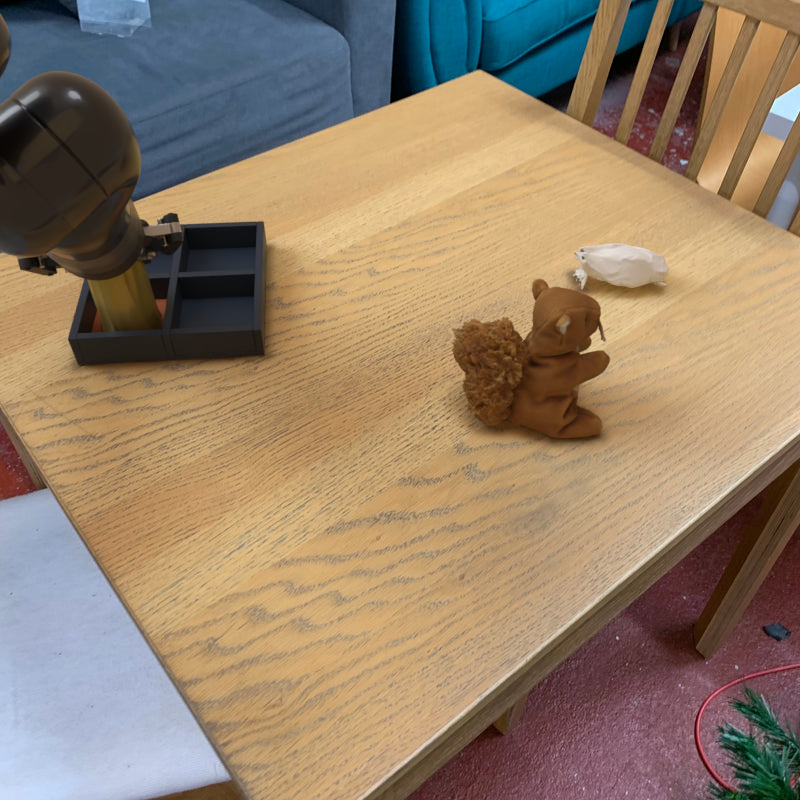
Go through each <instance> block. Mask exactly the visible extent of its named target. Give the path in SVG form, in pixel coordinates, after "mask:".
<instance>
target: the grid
mask: <svg viewBox="0 0 800 800" xmlns="http://www.w3.org/2000/svg"><path fill="white" fill-rule="evenodd" d="M149 226H150V224H149ZM180 227H181V231H182V235H183V240H184V242H183V243H182V244H181V246H180V247H179V248H178V249H177V251H176V252H175V253H172V254H171V255H166V254H165V255H163V254H162V251H158V252H156V253H157V257H156V258H153V259H151V263H149V264H144V265H145V268H146V271H147V274H148V277H149V281H150V285H151V288H152V292H153V295H154V298H155V301H156V304H157V306H158V309H159V311H160V313H161V314H162V326H161V328H160V329H154V330H134V331H114V332H102V329H101V318H100V315H99V313H98V310H97V308H96V305H95V302H94V300H93V297H92V294H91V290H90V287H89V284H88V281H87V279H83V282H82V286H81V290H80V293H79V297H78V301H77V303H76V308H75V311H74V315H73V319H72V322H71V326H70V330H69V333H68V335H67V342H68V343H69V346H70V349H71V351H72V353H73V355H74V358H75V361H76V363H77V366H89V365H90V366H91V365H111V364H129V363H147V362H148V363H149V362H166V361H168V362H169V361H184V360H185V361H186V360H187V361H188V360H202V359H203V360H206V359H223V358H243V357H260V356H261V357H262V356H265V354H266V317H267V315H266V312H267V311H266V309H267V271H268V270H267V268H268V267H267V266H268V265H267V264H268V244H267V243H268V242H267V237H266V228H265V221H264V220H259V221H256V220H255V221H254V220H253V221H235V222H234V221H232V222H231V221H229V222H227V221H226V222H205V223H202V222H201V223H186V224H185V223H180Z"/></svg>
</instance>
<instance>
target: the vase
mask: <svg viewBox="0 0 800 800" xmlns="http://www.w3.org/2000/svg"><path fill="white" fill-rule="evenodd" d="M87 281H88V284H89V287H90V290H91V294H92V297H93V300H94V302H95V305H96V308H97V310H98V313H99V315H100V318H101V329H102V332H114V331H134V330H154V329H160V328H161V326H162V314H161V313H160V311H159V309H158V306H157V304H156V301H155V298H154V295H153V292H152V288H151V285H150V281H149V277H148V274H147V271H146V268H145V265H144V263H143V261H139V262H135V263H134V265H133V266H132V267H131V268H130V269H129V270H127V271H126V272H125V273H123V274H121V275H119V276H117V277H115V278H112V279H108V280H99V281H98V280H87Z"/></svg>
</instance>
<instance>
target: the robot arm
mask: <svg viewBox="0 0 800 800" xmlns="http://www.w3.org/2000/svg"><path fill="white" fill-rule="evenodd" d="M12 48H13V40H12V34H11V31H10V29H9V26H8V23H7V22H6V20H5V18H4V17H3V15H2V14H1V13H0V79H1V78H2V76H3V75H4V73H5V71H6V69H7V67H8V64H9V61H10V59H11V55H12V50H13V49H12ZM141 171H142V153H141V147H140V143H139V140H138V138H137V135H136V132H135V129H134V128H133V125H132V123H131V121H130V118H128V116H127V114H126V112H125V111H124V110H123V108H122V107H121V105H119V103H118V102H117V101H116V100H115V98H114V97H112V95H111V94H110V93H109V92H108V91H106V89H104V88H103V87H102V86H101V85H99V84H98V83H96V82H95V81H93V80H91V79H89V78H87V77H85V76H83V75H81V74H78V73H74V72H71V71H64V70H49V71H45V72H42V73H40V74H37V75H35V76H33V77H32V78H30V79H27V81H26V82H24V83H23V84H22V85H21V86H19V87H18V88H17V89H16V90H15V91H14V92H12V93H11V95H10V97H7V98H6V99H5V100H4V101H3V102H1V103H0V253H2V254H5V255H7V256H11V257H16V259H17V262H18V263H17V264H18V267H19V270H20V271H23V272H27V273H28V272H29V273H32V274H37V275H41V276H47V277H53V276H54V275H57V274H58V270H59V269H63V270H64V272H65V273H66V274H71V275H73V276H75V277H78V278H81V279H83V280H84V279H87V280H98V281H99V280H108V279H112V278H115V277H117V276H119V275H121V274H123V273H125V272H126V271H127V270H129V269H130V268H131V267H132V266H133V265H134V263H135V262H139V261H143V263H144V264H149V263H151V259H153V258H156V257H157V253H156V252H158V251H162V254H163V255H165V254H166V255H171V254H172V253H175V252H176V251H177V249H178V248H179V247H180V246H181V244H182V243H183V242H184V240H183V235H182V231H181V227H180V224H181V223H180V218H179V214H178V213H176V212H175V213H174V212H168V213H167V214H164V215H163V216H162V217H161V218H157V219H156V222H157V224H151V225H150V224H149V222H147V220H146V219H142V218H140V216H139V213H138V211H137V208H136V206H135V203H134V201H133V199H132V197H133V194H134V192H135V190H136V188H137V186H138V183H139V180H140V177H141ZM149 225H150V226H149Z"/></svg>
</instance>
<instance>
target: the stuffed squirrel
mask: <svg viewBox="0 0 800 800" xmlns="http://www.w3.org/2000/svg"><path fill="white" fill-rule="evenodd" d="M531 284H532V287H531V292H532V293H531V294H532V296H533V299H534V305H533V309H532V326H531V330H530V331H529V332H528V333H527V335H526V336H525V338H524V339H523V337H522V336H521V334H520V333H519V331H517V330H515V325H514V323H513V321H512V320H510V319H509V317H508V316H507V317H505V316H503V317H501V320H500V319H499V318H497V319H496V320H493V321H485V322H481V321H480V320H478V319H477V318H471V319H470V320H469V321H467V322H466V321H464V322H462V324H463V325H461V327H457V328H455V327H453V328H451V331H452V333H453V335H454V338H455V339H453V341H454V342H451V344H452V345H453V347H452V349H451V351H452V355H453V358H454V361H455V362H456V363H457V365H458V367H459V368H460V369H461V371H462V372H464V379H463V380H462V382H463V385H461V387H462V392H464V394H465V397H466V399H467V404H466V407H467V409H468V410H469V412H470V414H471V416H472V417H474V418H475V419H476V420H478V422H480V423H484V424H486V426H489V427H494V426H497V425H499V424H501V423H503V422H504V420H509V421H510V422H513V423H515V424H516V423H517V424H519V425H521V426H524V427H527V428H528V429H531V430H534V431H536V432H538V433H541V434H544V435H546V436H549V437H551V438H553V439H554V438H555V439H572V438H573V439H576V438H586V437H590V436H596V435H599V434H600V433H601V432H602V430H603V427H604V425H603V421H602V419H601V418H600V416H598V415H597V414H595V413H594V412H593V411H591V410H588V409H586V408H585V407H582V406H579V405H578V400H579V399H578V398H579V388H580V387H579V386H580V385H582V384H584V383H586V382H588V381H591V380H593V379H595V378H597V377H598V376H600V375H602V374H603V373H604V372H605V371H606V370H607V368H608V367H609V366H610V365H609V364H610V363H611V357H610V355H609V354H607V352H606V351H605V350H602V349H601V350H598V349H597V350H594V351H589V352H585V353H583V352H584V351H586V350H588V349H589V348H590V347H591V345H592V342H593V340H592V338H591V336H593V335H594V334H595V333H596V332H597V330H598V332H599V335H600V340H601V341H602V342H603V343H605V342H606V341H607V338H606V337H605V332H604V327H603V324H602V322H601V315H602V310H601V308H602V307H601V305H600V304H599V301H598V300H596V299H595V298H594V297H592V296H590V295H588V294H586V293H583V292H581V291H578V290H575V289H571V288H566V287H562V286H552V287H549V284H548V283H547V281H546V280H544V279H543V278H536V279H534V280H533V281H532V282H531Z"/></svg>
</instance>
